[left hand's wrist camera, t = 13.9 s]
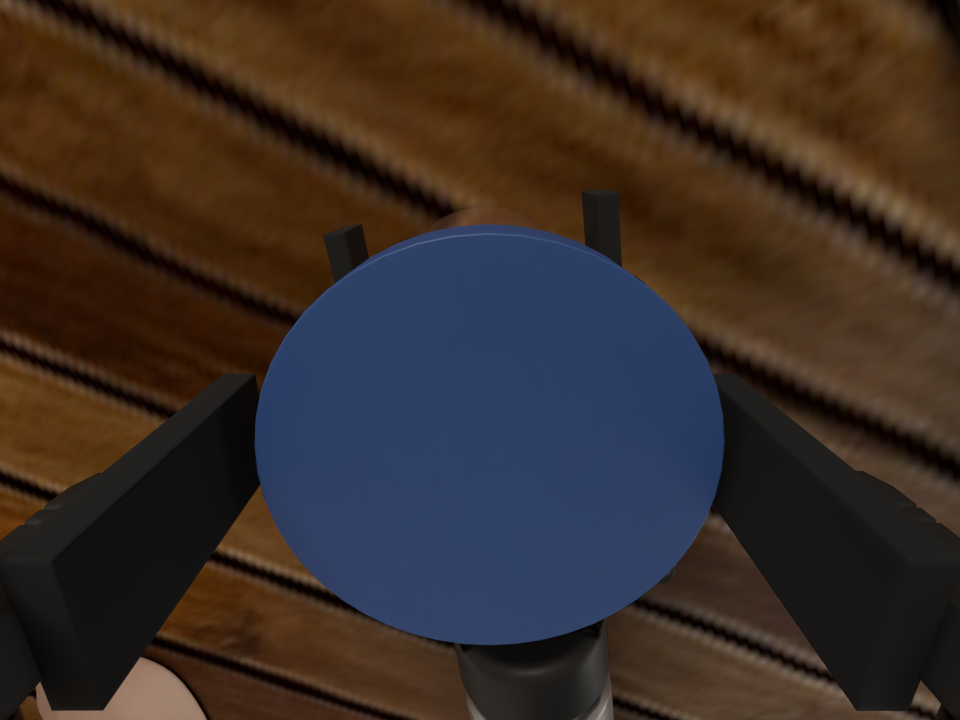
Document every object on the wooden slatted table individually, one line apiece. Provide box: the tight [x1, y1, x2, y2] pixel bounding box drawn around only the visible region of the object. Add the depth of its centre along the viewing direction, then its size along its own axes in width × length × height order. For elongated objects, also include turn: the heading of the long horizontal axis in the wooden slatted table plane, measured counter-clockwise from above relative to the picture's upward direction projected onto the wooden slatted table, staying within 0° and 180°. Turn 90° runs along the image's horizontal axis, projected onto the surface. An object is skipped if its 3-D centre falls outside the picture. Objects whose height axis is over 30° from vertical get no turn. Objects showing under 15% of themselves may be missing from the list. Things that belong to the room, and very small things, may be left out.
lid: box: [255, 224, 725, 645], centre depth 12 cm, size 10×10×2 cm
